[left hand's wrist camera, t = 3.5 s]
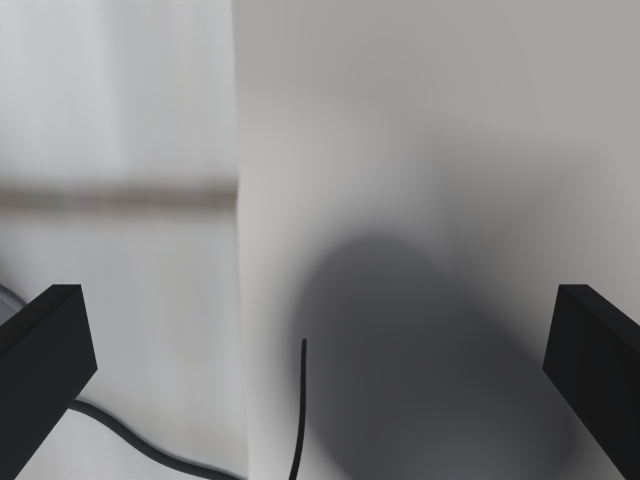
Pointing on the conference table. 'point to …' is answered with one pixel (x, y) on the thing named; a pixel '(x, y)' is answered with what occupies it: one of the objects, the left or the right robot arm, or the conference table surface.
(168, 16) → the conference table surface
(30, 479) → the conference table surface
